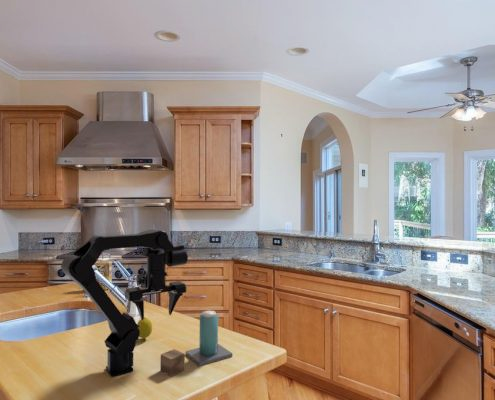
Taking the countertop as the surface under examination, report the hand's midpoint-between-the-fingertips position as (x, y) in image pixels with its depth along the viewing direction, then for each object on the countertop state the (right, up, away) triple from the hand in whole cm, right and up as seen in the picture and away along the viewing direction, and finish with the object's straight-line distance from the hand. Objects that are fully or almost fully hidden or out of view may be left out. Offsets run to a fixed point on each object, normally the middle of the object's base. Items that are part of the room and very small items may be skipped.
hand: (156, 317), depth 115 cm
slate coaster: (+17, -13, +2) cm, 21 cm away
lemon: (-8, -13, +15) cm, 22 cm away
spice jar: (+17, -12, +2) cm, 21 cm away
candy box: (-52, -13, +86) cm, 102 cm away
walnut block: (+7, -13, -8) cm, 17 cm away
